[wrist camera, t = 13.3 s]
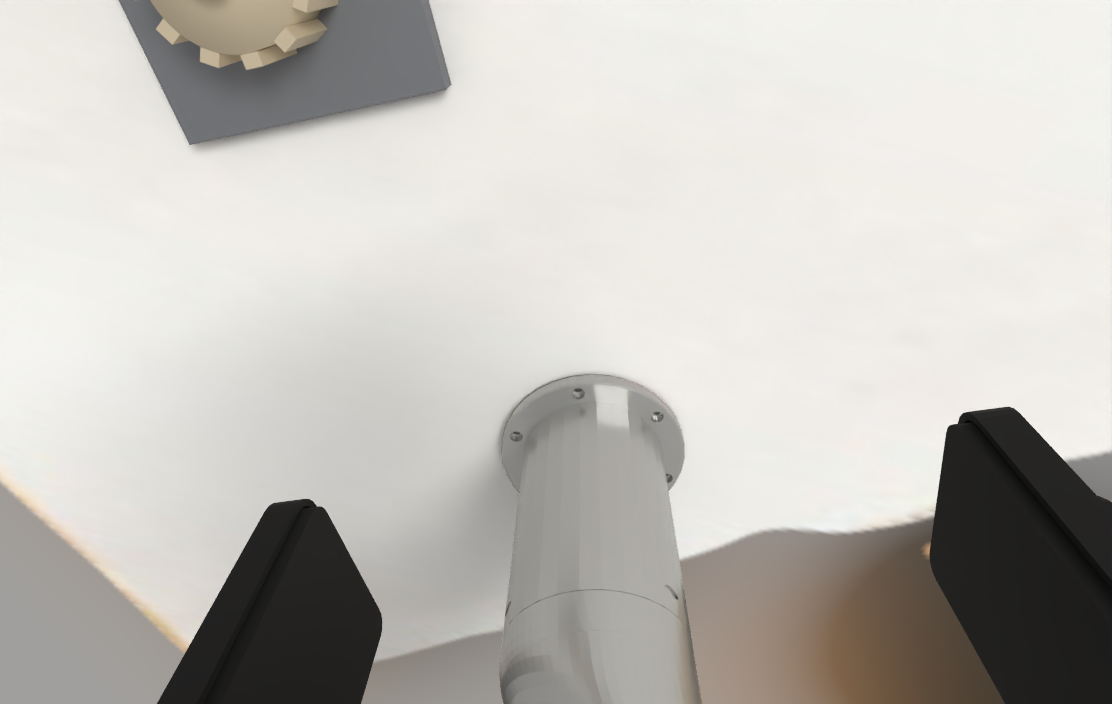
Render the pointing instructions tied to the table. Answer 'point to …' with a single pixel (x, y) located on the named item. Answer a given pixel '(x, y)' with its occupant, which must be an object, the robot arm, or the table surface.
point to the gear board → (284, 58)
